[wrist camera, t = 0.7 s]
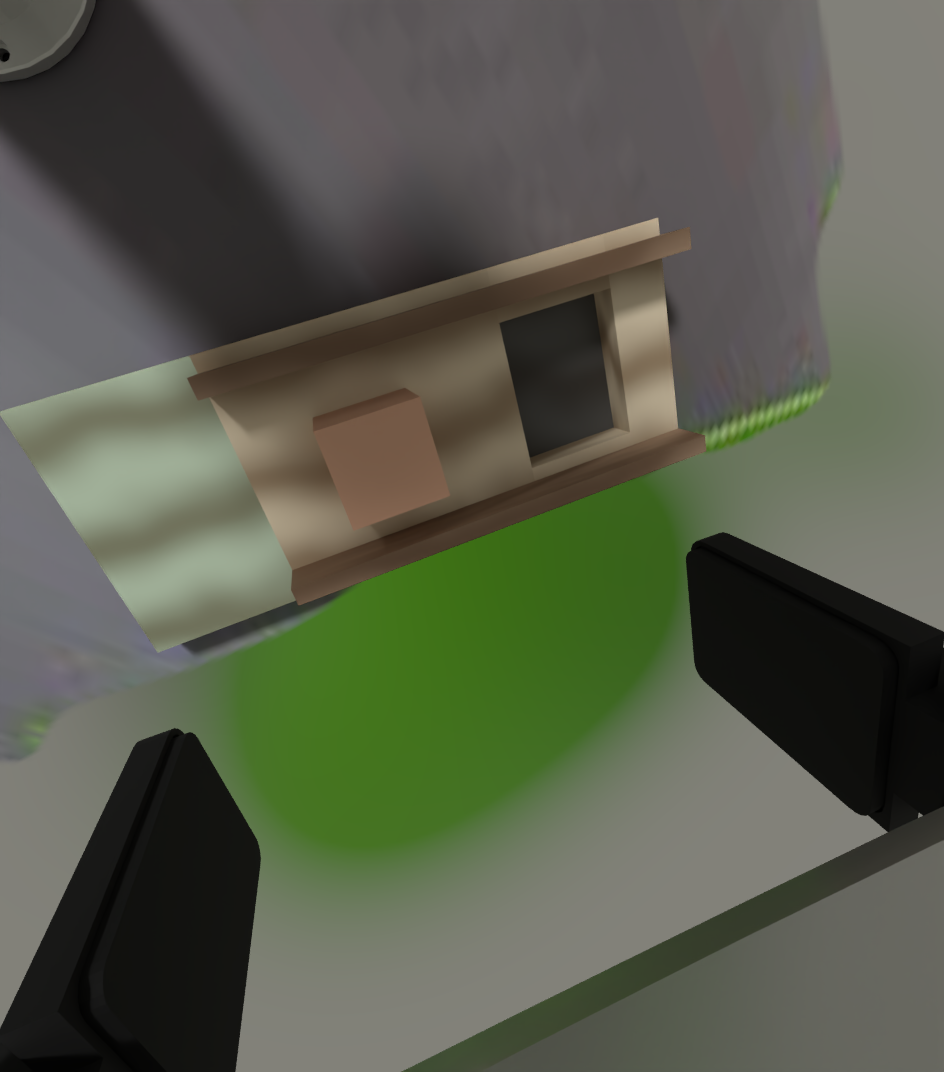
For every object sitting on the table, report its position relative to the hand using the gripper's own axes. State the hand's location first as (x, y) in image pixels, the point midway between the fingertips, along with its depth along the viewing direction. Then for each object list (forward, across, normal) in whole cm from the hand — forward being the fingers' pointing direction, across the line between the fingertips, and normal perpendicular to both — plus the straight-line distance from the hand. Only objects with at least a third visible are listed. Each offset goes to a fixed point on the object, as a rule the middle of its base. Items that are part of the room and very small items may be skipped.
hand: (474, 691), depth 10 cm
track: (+29, -2, 0) cm, 29 cm away
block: (+26, -1, 0) cm, 26 cm away
